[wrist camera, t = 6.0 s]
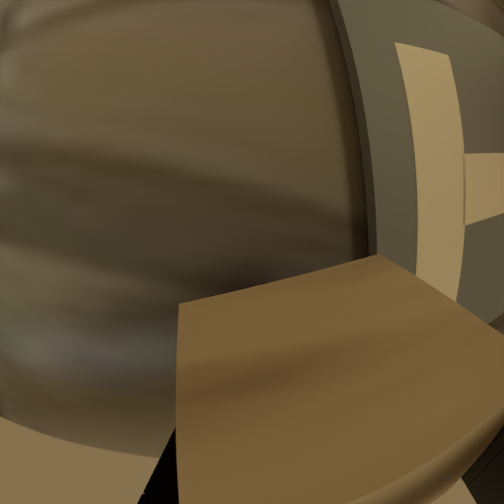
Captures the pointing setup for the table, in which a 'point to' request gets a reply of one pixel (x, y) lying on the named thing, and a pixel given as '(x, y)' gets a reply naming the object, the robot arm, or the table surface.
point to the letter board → (431, 142)
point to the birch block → (333, 390)
